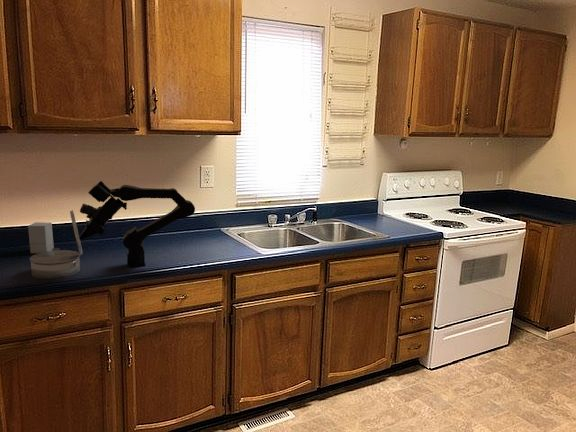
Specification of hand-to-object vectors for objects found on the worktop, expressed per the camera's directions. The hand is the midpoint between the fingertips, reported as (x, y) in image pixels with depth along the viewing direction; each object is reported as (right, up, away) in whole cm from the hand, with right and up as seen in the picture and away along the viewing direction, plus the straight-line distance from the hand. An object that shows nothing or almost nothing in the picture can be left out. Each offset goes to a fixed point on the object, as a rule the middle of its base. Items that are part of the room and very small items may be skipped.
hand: (79, 239), depth 188 cm
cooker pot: (-10, -12, +2) cm, 16 cm away
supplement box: (-28, -7, +25) cm, 38 cm away
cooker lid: (-1, +3, -1) cm, 3 cm away
